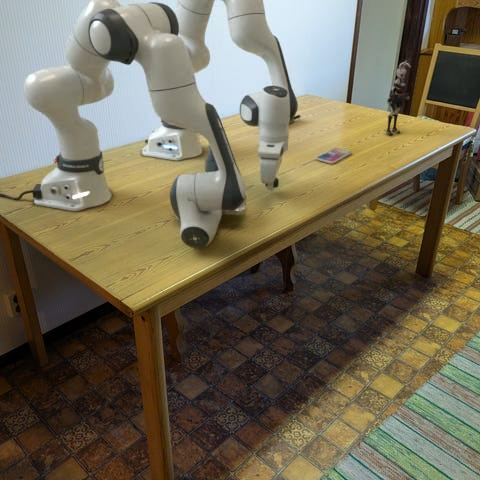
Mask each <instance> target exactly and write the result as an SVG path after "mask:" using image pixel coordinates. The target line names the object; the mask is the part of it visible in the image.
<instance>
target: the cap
mask: <svg viewBox="0 0 480 480" xmlns="http://www.w3.org/2000/svg"><path fill="white" fill-rule="evenodd" d="M279 185H280V182H279V178H277V177H276V178H275V180H274V188H273V189H277V188H279ZM264 186H265V187H266V188H267V184H265V183H264Z"/></svg>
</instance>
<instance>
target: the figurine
mask: <svg viewBox="0 0 480 480" xmlns="http://www.w3.org/2000/svg"><path fill="white" fill-rule="evenodd" d="M407 66H408V68H412V66H411V65H410V63H408V60H405V61H402V62H401V63H399V65H398V68H397V69H396V72H395V74H396V77H397V78H396V79H395V81H394V82H393V85H392V87H391V89H390V91H389V94H388V95H389V96H388V98H387V100H386V103H387V105H388V106H390V112H389V114H388V115H387V118H388V119H387V127H386V130H385V132H386V133H385V134H386V135H387V136H392V137H393V135H394V133H396V134H400V129H398V128H397V121H398V117H399V116H400V115H399V112H400V110H401V108H402V111H401V114H404V110H405V109H406V106H405V105H406V104H405V101H406V100H409V99H410V95H409V93H408V90H407V88H406V87H407V85H406V83H405V81H404V79H405V78H406V74H407V71H408V70H407V69H406V67H407ZM394 90H395V92H394ZM403 92H404V93H405V97H404V94H403ZM392 120H393V127H392V129H391V124H392Z"/></svg>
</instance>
